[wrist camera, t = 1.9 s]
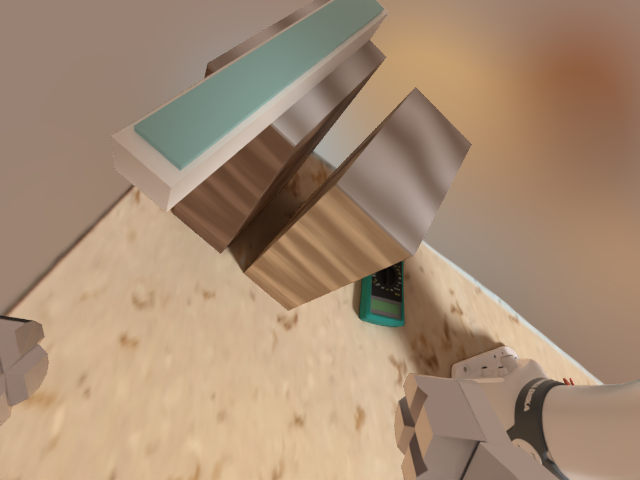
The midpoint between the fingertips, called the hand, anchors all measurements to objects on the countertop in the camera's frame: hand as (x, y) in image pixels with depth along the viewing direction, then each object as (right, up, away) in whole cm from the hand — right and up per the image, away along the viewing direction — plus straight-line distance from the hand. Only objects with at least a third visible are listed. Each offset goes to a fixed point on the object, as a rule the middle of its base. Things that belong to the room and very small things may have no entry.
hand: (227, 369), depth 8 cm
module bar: (-1, +14, +18) cm, 23 cm away
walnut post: (-10, +9, +42) cm, 44 cm away
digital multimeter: (+12, -4, +49) cm, 51 cm away
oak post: (-1, +1, +44) cm, 44 cm away
